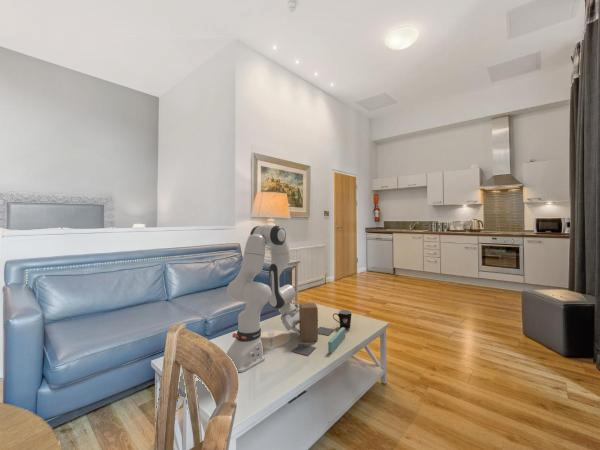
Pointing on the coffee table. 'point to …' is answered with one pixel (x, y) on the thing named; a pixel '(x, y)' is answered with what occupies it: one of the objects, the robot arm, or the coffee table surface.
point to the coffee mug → (344, 318)
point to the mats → (309, 349)
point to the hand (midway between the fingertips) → (302, 330)
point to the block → (308, 322)
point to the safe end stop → (336, 340)
